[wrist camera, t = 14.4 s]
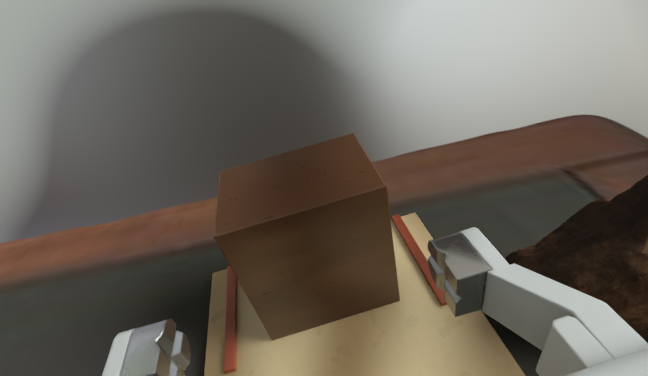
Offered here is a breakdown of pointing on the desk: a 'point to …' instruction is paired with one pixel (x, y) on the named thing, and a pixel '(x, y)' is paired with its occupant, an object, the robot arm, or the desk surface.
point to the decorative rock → (601, 254)
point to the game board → (361, 330)
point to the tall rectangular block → (308, 235)
